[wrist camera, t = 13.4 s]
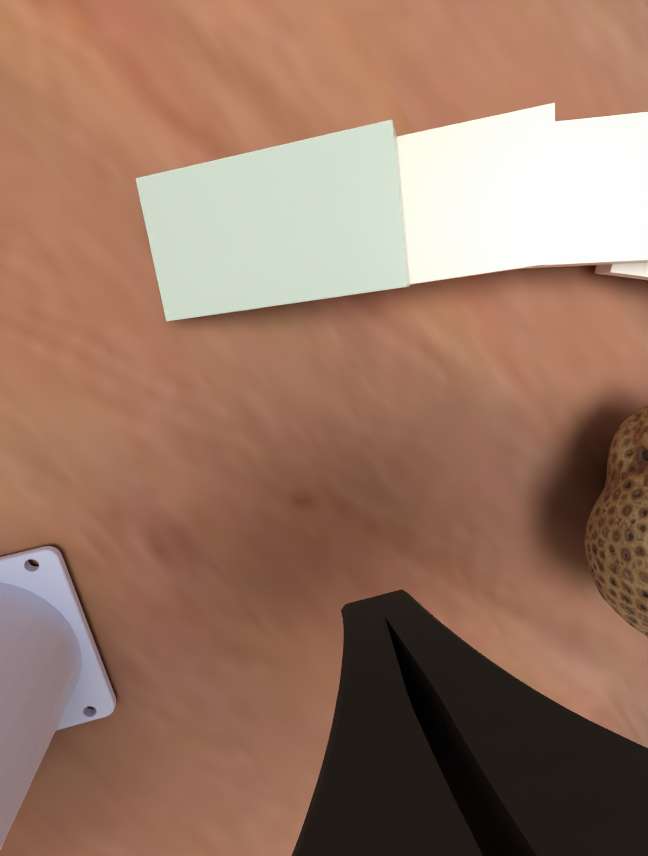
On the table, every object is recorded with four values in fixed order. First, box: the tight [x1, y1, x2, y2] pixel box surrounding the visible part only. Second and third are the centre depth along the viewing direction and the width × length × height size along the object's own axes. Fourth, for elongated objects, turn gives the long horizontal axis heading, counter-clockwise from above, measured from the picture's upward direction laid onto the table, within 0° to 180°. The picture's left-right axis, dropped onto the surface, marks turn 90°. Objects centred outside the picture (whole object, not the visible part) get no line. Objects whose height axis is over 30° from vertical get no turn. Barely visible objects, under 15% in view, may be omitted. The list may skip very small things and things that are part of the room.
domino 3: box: [520, 112, 648, 269], centre depth 17 cm, size 2×4×8 cm
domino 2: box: [397, 103, 557, 285], centre depth 16 cm, size 2×4×8 cm
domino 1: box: [136, 120, 410, 321], centre depth 15 cm, size 2×4×8 cm
